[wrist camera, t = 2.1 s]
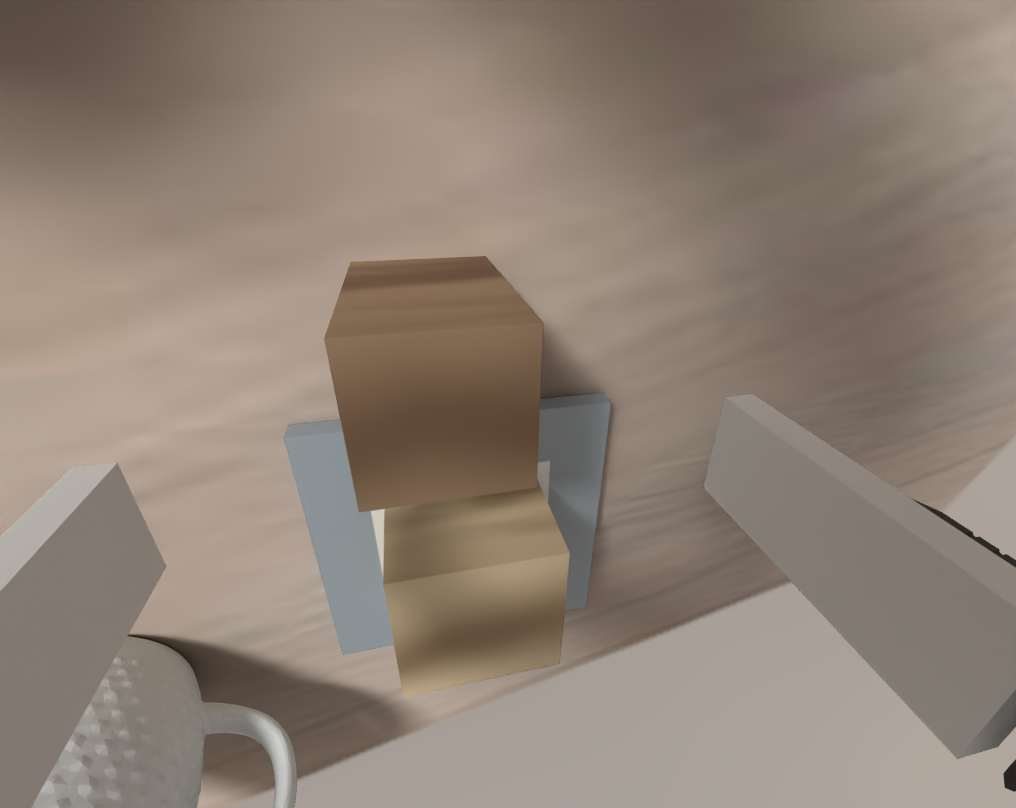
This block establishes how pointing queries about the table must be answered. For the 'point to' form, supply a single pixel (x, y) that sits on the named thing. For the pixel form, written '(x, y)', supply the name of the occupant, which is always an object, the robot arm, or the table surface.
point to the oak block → (474, 588)
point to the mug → (154, 738)
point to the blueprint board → (360, 536)
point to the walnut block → (435, 381)
